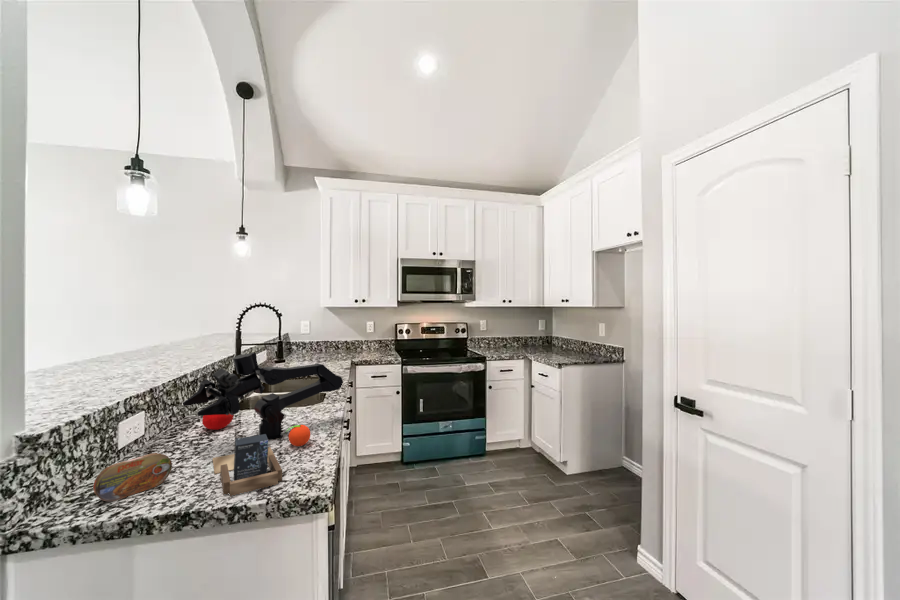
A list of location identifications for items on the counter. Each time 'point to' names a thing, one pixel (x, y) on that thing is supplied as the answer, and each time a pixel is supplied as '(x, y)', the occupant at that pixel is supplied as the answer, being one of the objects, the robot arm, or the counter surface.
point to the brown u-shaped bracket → (251, 479)
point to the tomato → (216, 421)
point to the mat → (228, 461)
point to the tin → (132, 476)
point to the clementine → (299, 435)
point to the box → (250, 456)
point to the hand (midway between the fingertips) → (190, 409)
